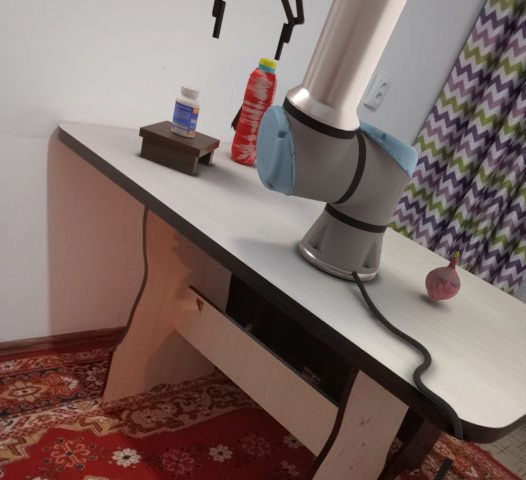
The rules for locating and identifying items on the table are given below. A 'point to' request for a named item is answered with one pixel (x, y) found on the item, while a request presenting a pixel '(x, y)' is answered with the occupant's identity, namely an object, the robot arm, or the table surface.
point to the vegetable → (443, 281)
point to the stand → (176, 147)
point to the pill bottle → (186, 112)
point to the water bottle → (253, 111)
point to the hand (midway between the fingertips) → (246, 49)
